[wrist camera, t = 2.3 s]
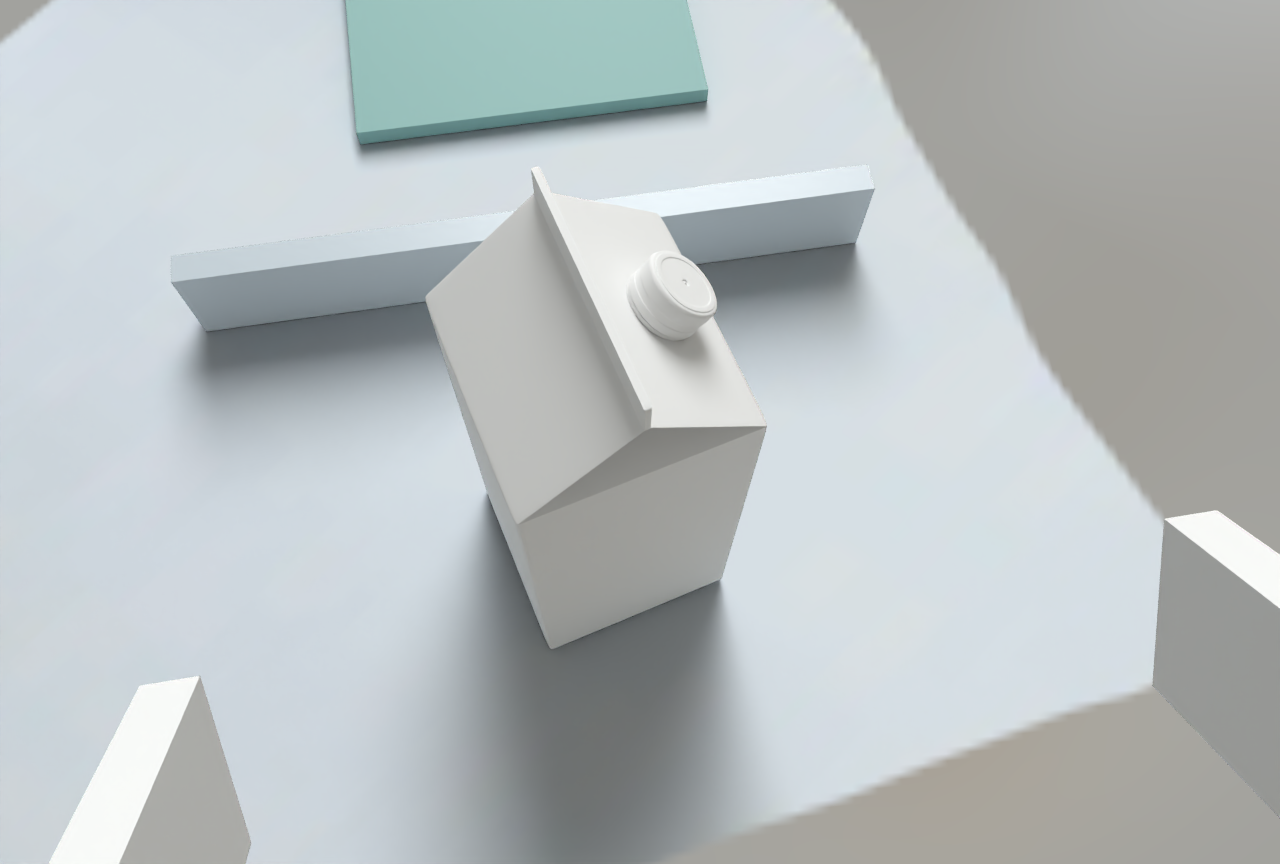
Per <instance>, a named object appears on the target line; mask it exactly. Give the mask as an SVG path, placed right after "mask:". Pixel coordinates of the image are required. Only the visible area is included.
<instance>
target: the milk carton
mask: <svg viewBox="0 0 1280 864" xmlns="http://www.w3.org/2000/svg"><path fill="white" fill-rule="evenodd" d="M531 172H532V180H533V188H534V194H533V195H532V196H530V197H529V198H528V199H527V200H526V201H525V202H524V203H523V204H522V205H521V206H520V207H519V208H518V209H517V210H516V211H515V212H514V213H513V214H511V215H510V216H509V217H508V218H507V219H506V220H505V221H504V222H503V223H502V224H501V225H500V226H499V227H498V228H497V229H496V230H495V231H494V232H493V233H491V234H490V235H489V236H488V237H487V238H486V239H485V240H484V241H483V242H482V243H481V244H480V245H479V246H478V247H477V248H476V249H475V250H474V251H472V252H471V253H470V254H469V255H468V256H467V257H466V258H465V259H464V260H463V261H462V262H461V263H460V264H459V265H458V266H457V267H456V268H455V269H453V270H452V271H451V272H450V273H449V274H448V275H447V276H446V277H445V278H444V279H443V280H442V281H441V282H440V283H439V284H438V285H437V286H436V287H435V288H433V289H432V290H431V291H430V292H429V293H428V294H427V295H426V297H425V299H426V304H427V307H428V310H429V313H430V317H431V320H432V323H433V326H434V329H435V332H436V335H437V338H438V341H439V344H440V348H441V351H442V354H443V357H444V360H445V363H446V366H447V369H448V372H449V375H450V379H451V382H452V385H453V388H454V391H455V394H456V397H457V400H458V403H459V406H460V409H461V413H462V416H463V419H464V422H465V425H466V428H467V431H468V434H469V437H470V440H471V444H472V447H473V450H474V453H475V456H476V459H477V462H478V465H479V468H480V471H481V475H482V478H483V481H484V484H485V487H486V490H487V493H488V496H489V498H490V501H491V504H492V506H493V509H494V511H495V514H496V516H497V519H498V521H499V524H500V526H501V529H502V531H503V534H504V536H505V539H506V541H507V544H508V547H509V549H510V552H511V554H512V557H513V559H514V562H515V564H516V567H517V569H518V572H519V574H520V577H521V579H522V582H523V584H524V587H525V589H526V592H527V594H528V597H529V599H530V602H531V604H532V607H533V609H534V612H535V615H536V617H537V620H538V622H539V625H540V627H541V630H542V632H543V635H544V637H545V639H546V642H547V644H548V646H549V647H550V649H555V648H557V647H560V646H562V645H564V644H567V643H569V642H572V641H574V640H576V639H579V638H581V637H584V636H586V635H588V634H591V633H593V632H596V631H598V630H600V629H603V628H605V627H608V626H610V625H612V624H615V623H617V622H620V621H622V620H624V619H627V618H629V617H632V616H634V615H636V614H639V613H641V612H644V611H646V610H648V609H651V608H653V607H656V606H658V605H660V604H663V603H665V602H668V601H670V600H672V599H675V598H677V597H680V596H682V595H684V594H687V593H689V592H692V591H694V590H696V589H699V588H701V587H704V586H706V585H708V584H711V583H713V582H716V581H718V580H720V579H721V578H722V575H723V572H724V569H725V565H726V562H727V559H728V555H729V552H730V549H731V546H732V542H733V539H734V536H735V532H736V529H737V526H738V522H739V519H740V516H741V512H742V509H743V506H744V502H745V499H746V496H747V492H748V489H749V486H750V482H751V479H752V476H753V472H754V469H755V466H756V463H757V459H758V456H759V453H760V449H761V446H762V443H763V439H764V436H765V432H766V427H767V425H766V421H765V419H764V416H763V414H762V412H761V410H760V408H759V406H758V403H757V401H756V399H755V397H754V395H753V393H752V391H751V389H750V387H749V385H748V383H747V381H746V379H745V377H744V376H743V374H742V372H741V370H740V368H739V366H738V364H737V362H736V360H735V358H734V356H733V354H732V352H731V350H730V348H729V346H728V344H727V342H726V341H725V339H724V337H723V335H722V333H721V331H720V329H719V327H718V325H717V323H716V321H715V319H714V317H713V316H714V314H715V312H716V310H717V299H716V296H715V293H714V290H713V288H712V286H711V284H710V283H709V281H708V279H707V278H706V276H705V275H704V274H703V272H702V271H701V270H700V269H699V268H698V267H697V266H696V265H695V264H694V263H693V262H692V261H690V260H689V259H688V258H686V257H684V256H682V255H681V253H680V251H679V249H678V247H677V245H676V243H675V241H674V240H673V238H672V236H671V234H670V232H669V230H668V229H667V227H666V225H665V223H664V222H663V220H662V218H661V217H660V216H659V215H658V214H657V213H654V212H649V211H644V210H639V209H634V208H628V207H623V206H618V205H613V204H607V203H602V202H597V201H592V200H586V199H581V198H576V197H571V196H565V195H560V194H555V193H552V192H551V190H550V188H549V186H548V184H547V181H546V179H545V177H544V175H543V173H542V171H541V169H540V168H539V167H534V168H532V169H531Z"/></svg>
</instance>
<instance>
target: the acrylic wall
mask: <svg viewBox="0 0 1280 864" xmlns="http://www.w3.org/2000/svg"><path fill="white" fill-rule="evenodd" d="M874 189H875V187H874V184H873V180H872V177H871V174H870V170H869V167H868V164H866V165H858V166H850V167H843V168H835V169H828V170H820V171H812V172H805V173H797V174H790V175H782V176H774V177H767V178H759V179H751V180H744V181H736V182H729V183H721V184H713V185H706V186H698V187H691V188H683V189H675V190H668V191H660V192H653V193H645V194H637V195H630V196H622V197H615V198H607V199H599V200H592V201H597V202H602V203H607V204H613V205H618V206H623V207H628V208H634V209H639V210H644V211H649V212H654V213H657V214H658V215H659V216H660V217H661V218H662V220H663V222H664V223H665V225H666V227H667V229H668V230H669V232H670V234H671V236H672V238H673V240H674V241H675V243H676V245H677V247H678V249H679V251H680V253H681V255H682V256H684V257H686V258H688V259H689V260H690V261H692V262H693V263H694V264H695V265H696V264H703V263H710V262H718V261H725V260H732V259H740V258H747V257H754V256H761V255H769V254H776V253H783V252H791V251H798V250H805V249H813V248H820V247H827V246H834V245H842V244H849V243H856V241H857V238H858V235H859V232H860V229H861V227H862V224H863V221H864V218H865V215H866V212H867V209H868V207H869V204H870V201H871V198H872V195H873V192H874ZM514 212H515V211H508V212H500V213H493V214H485V215H478V216H470V217H462V218H455V219H447V220H440V221H432V222H424V223H417V224H409V225H402V226H394V227H386V228H379V229H371V230H364V231H356V232H348V233H341V234H333V235H326V236H318V237H310V238H303V239H295V240H287V241H280V242H272V243H265V244H257V245H249V246H242V247H234V248H227V249H219V250H211V251H204V252H196V253H189V254H181V255H173V256H171V283H172V284H173V286H174V287H175V289H176V290H177V291H178V293H179V294H180V296H181V297H182V298H183V300H184V301H185V302H186V304H187V305H188V307H189V308H190V309H191V311H192V312H193V314H194V315H195V316H196V318H197V319H198V321H199V322H200V323H201V325H202V326H203V328H204V329H205V330H206V332H207V331H214V330H221V329H229V328H236V327H243V326H251V325H258V324H265V323H273V322H280V321H287V320H294V319H302V318H309V317H316V316H324V315H331V314H338V313H345V312H353V311H360V310H367V309H375V308H382V307H389V306H397V305H404V304H411V303H418V302H426V299H425V297H426V295H427V294H428V293H429V292H430V291H431V290H432V289H433V288H435V287H436V286H437V285H438V284H439V283H440V282H441V281H442V280H443V279H444V278H445V277H446V276H447V275H448V274H449V273H450V272H451V271H452V270H453V269H455V268H456V267H457V266H458V265H459V264H460V263H461V262H462V261H463V260H464V259H465V258H466V257H467V256H468V255H469V254H470V253H471V252H472V251H474V250H475V249H476V248H477V247H478V246H479V245H480V244H481V243H482V242H483V241H484V240H485V239H486V238H487V237H488V236H489V235H490V234H491V233H493V232H494V231H495V230H496V229H497V228H498V227H499V226H500V225H501V224H502V223H503V222H504V221H505V220H506V219H507V218H508V217H509V216H510V215H511V214H513V213H514Z"/></svg>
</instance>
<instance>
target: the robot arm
mask: <svg viewBox="0 0 1280 864" xmlns="http://www.w3.org/2000/svg"><path fill="white" fill-rule="evenodd" d="M1152 686H1153V687H1154V688H1155V689H1156V690H1157V691H1158V692H1159V693H1160V694H1161V695H1162V696H1163V697H1164V698H1165V699H1166V701H1167V702H1168V703H1170V705H1171V706H1172V707H1173V708H1174V709H1175V710H1176V711H1177V712H1178V713H1179V714H1180V715H1181V716H1182V717H1183V718H1184V719H1185V720H1186V721H1187V722H1188V723H1189V724H1190V726H1191V727H1192V728H1193V729H1194V730H1195V731H1196V732H1197V733H1198V734H1199V735H1200V736H1201V737H1202V738H1203V739H1204V740H1205V741H1206V742H1207V743H1208V744H1209V745H1210V746H1211V747H1212V748H1213V749H1214V750H1215V752H1216V753H1217V754H1218V755H1219V756H1220V757H1221V758H1222V759H1223V760H1224V761H1225V762H1226V763H1227V764H1228V765H1229V766H1230V767H1231V768H1232V769H1233V770H1234V771H1235V772H1236V773H1237V774H1238V775H1239V776H1240V778H1241V779H1242V780H1243V781H1244V782H1245V783H1246V784H1247V785H1248V786H1249V787H1250V788H1251V789H1252V790H1253V791H1254V792H1255V793H1256V794H1257V795H1258V796H1259V797H1260V798H1261V799H1262V800H1263V801H1264V803H1265V804H1267V806H1268V807H1269V808H1270V809H1271V810H1272V811H1273V812H1274V813H1275V814H1276V815H1277V816H1278V817H1279V818H1280V555H1279V554H1278V553H1276V552H1275V551H1274V550H1272V549H1271V548H1269V547H1268V546H1267V545H1265V544H1264V543H1262V542H1261V541H1259V540H1258V539H1257V538H1255V537H1254V536H1252V535H1251V534H1250V533H1248V532H1247V531H1245V530H1244V529H1242V528H1241V527H1240V526H1238V525H1237V524H1235V523H1234V522H1233V521H1231V520H1230V519H1228V518H1227V517H1225V516H1224V515H1223V514H1221V513H1220V512H1218V511H1217V510H1216V511H1210V512H1203V513H1198V514H1192V515H1185V516H1179V517H1173V518H1167V519H1164V529H1163V543H1162V557H1161V571H1160V585H1159V600H1158V614H1157V628H1156V642H1155V657H1154V671H1153V685H1152ZM250 846H251V840H250V837H249V833H248V830H247V827H246V824H245V820H244V817H243V814H242V811H241V807H240V804H239V801H238V798H237V794H236V791H235V788H234V785H233V781H232V778H231V775H230V772H229V768H228V765H227V762H226V759H225V756H224V752H223V749H222V746H221V743H220V739H219V736H218V733H217V730H216V726H215V723H214V720H213V717H212V713H211V710H210V707H209V704H208V700H207V697H206V694H205V691H204V687H203V684H202V681H201V678H200V676H196V677H190V678H183V679H177V680H171V681H165V682H159V683H153V684H147V685H140V686H139V688H138V690H137V692H136V694H135V696H134V698H133V700H132V702H131V704H130V706H129V708H128V710H127V711H126V713H125V715H124V717H123V719H122V721H121V723H120V725H119V727H118V729H117V731H116V733H115V735H114V737H113V739H112V741H111V743H110V745H109V747H108V749H107V751H106V753H105V754H104V756H103V758H102V760H101V762H100V764H99V766H98V768H97V770H96V772H95V774H94V776H93V778H92V780H91V782H90V784H89V786H88V788H87V790H86V792H85V794H84V795H83V797H82V799H81V801H80V803H79V805H78V807H77V809H76V811H75V813H74V815H73V817H72V819H71V821H70V823H69V825H68V827H67V829H66V831H65V833H64V835H63V836H62V838H61V840H60V842H59V844H58V846H57V848H56V850H55V852H54V854H53V856H52V858H51V860H50V862H49V864H245V863H246V860H247V856H248V853H249V849H250Z"/></svg>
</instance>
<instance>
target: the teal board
mask: <svg viewBox="0 0 1280 864" xmlns="http://www.w3.org/2000/svg"><path fill="white" fill-rule="evenodd" d="M345 1H346V13H347V25H348V37H349V49H350V61H351V73H352V85H353V97H354V108H355V120H356V132H357V136H358V139H359V142H360V144H368V143H376V142H383V141H391V140H399V139H407V138H415V137H423V136H431V135H439V134H447V133H455V132H463V131H471V130H479V129H487V128H495V127H503V126H511V125H519V124H527V123H535V122H543V121H551V120H559V119H567V118H575V117H583V116H591V115H599V114H607V113H615V112H623V111H631V110H639V109H647V108H655V107H663V106H670V105H678V104H686V103H694V102H702V101H707V95H708V87H707V82H706V78H705V74H704V70H703V66H702V62H701V57H700V53H699V49H698V45H697V41H696V36H695V32H694V28H693V24H692V20H691V16H690V11H689V7H688V3H687V0H345Z"/></svg>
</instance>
